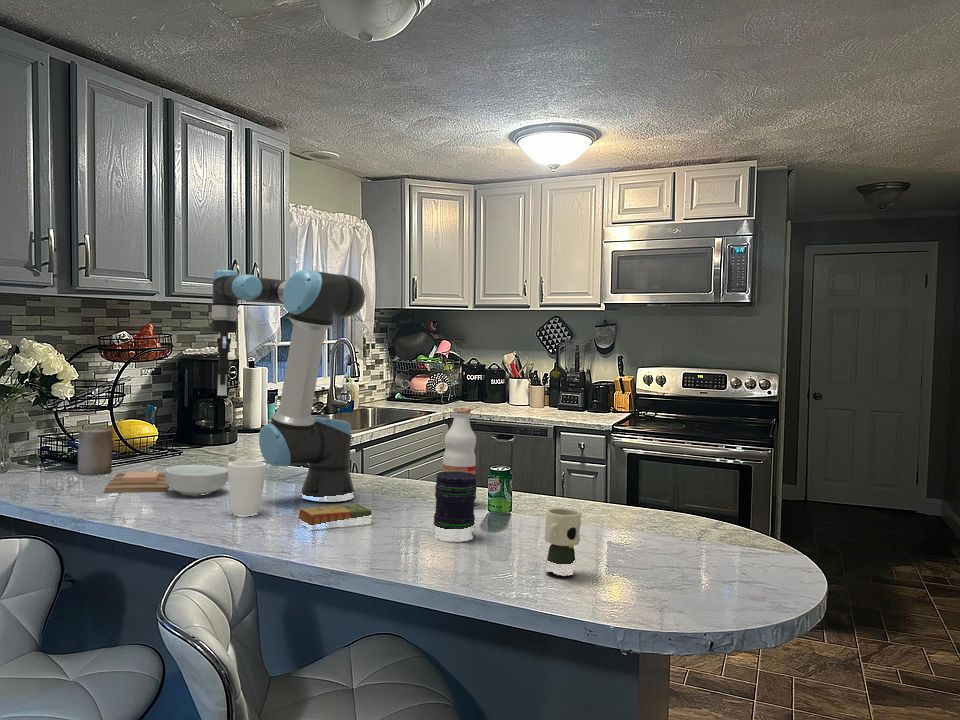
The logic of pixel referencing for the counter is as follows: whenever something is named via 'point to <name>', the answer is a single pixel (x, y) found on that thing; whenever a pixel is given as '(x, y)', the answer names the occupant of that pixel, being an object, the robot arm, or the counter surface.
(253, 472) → the foam cup
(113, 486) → the board
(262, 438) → the robot arm
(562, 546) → the character mug
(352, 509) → the brown and green block
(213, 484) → the cereal bowl
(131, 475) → the tile
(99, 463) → the pillar candle
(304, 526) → the counter surface
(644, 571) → the counter surface
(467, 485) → the storage jar
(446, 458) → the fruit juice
